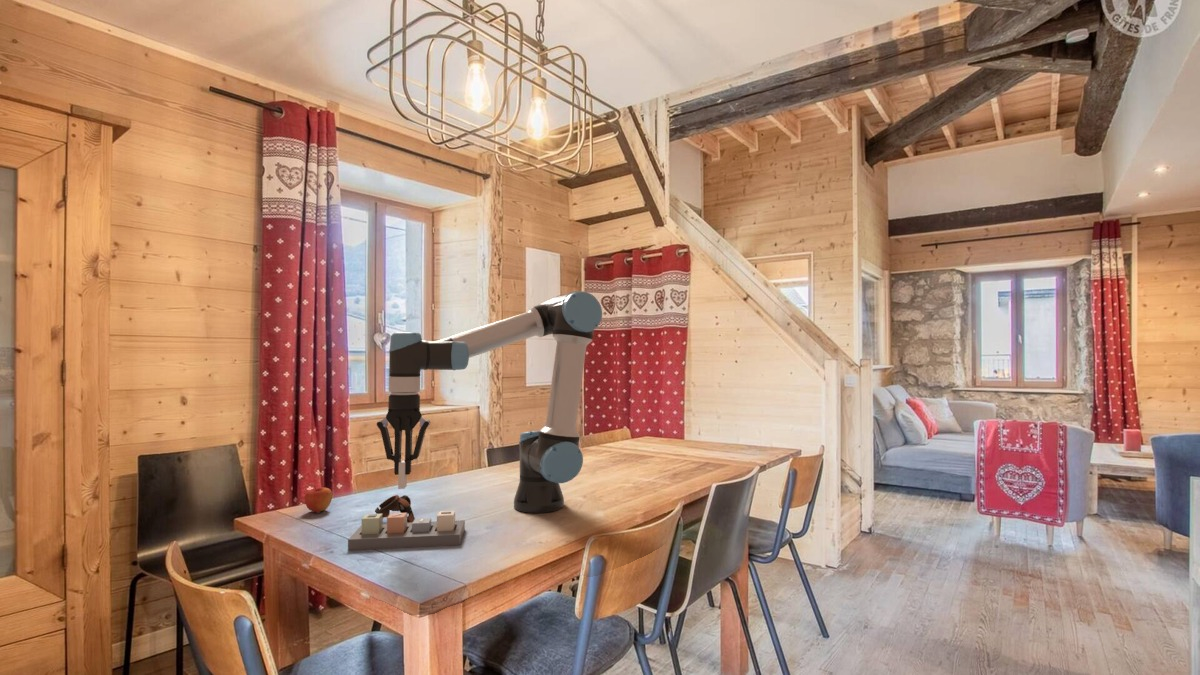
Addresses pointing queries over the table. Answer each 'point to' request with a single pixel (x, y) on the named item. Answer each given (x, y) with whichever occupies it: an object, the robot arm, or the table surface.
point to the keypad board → (407, 538)
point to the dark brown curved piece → (396, 506)
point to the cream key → (446, 521)
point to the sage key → (372, 524)
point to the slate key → (421, 525)
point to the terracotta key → (397, 523)
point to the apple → (318, 499)
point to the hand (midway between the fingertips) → (402, 487)
